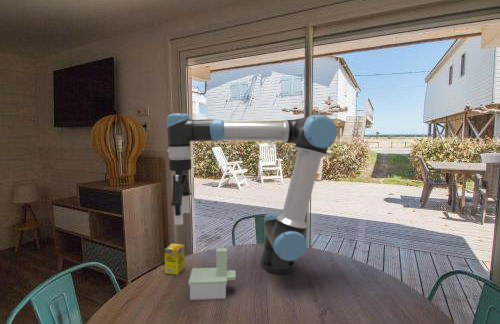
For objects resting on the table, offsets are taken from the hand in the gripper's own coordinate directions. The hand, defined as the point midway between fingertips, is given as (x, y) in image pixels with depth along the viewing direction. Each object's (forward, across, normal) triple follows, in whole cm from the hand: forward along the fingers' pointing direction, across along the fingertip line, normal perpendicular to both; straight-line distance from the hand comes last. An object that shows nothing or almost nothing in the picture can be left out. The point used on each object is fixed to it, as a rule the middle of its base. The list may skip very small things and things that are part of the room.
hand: (182, 218), depth 97 cm
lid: (+21, +3, +10) cm, 23 cm away
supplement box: (+27, -13, -7) cm, 30 cm away
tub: (+27, +3, +9) cm, 28 cm away
